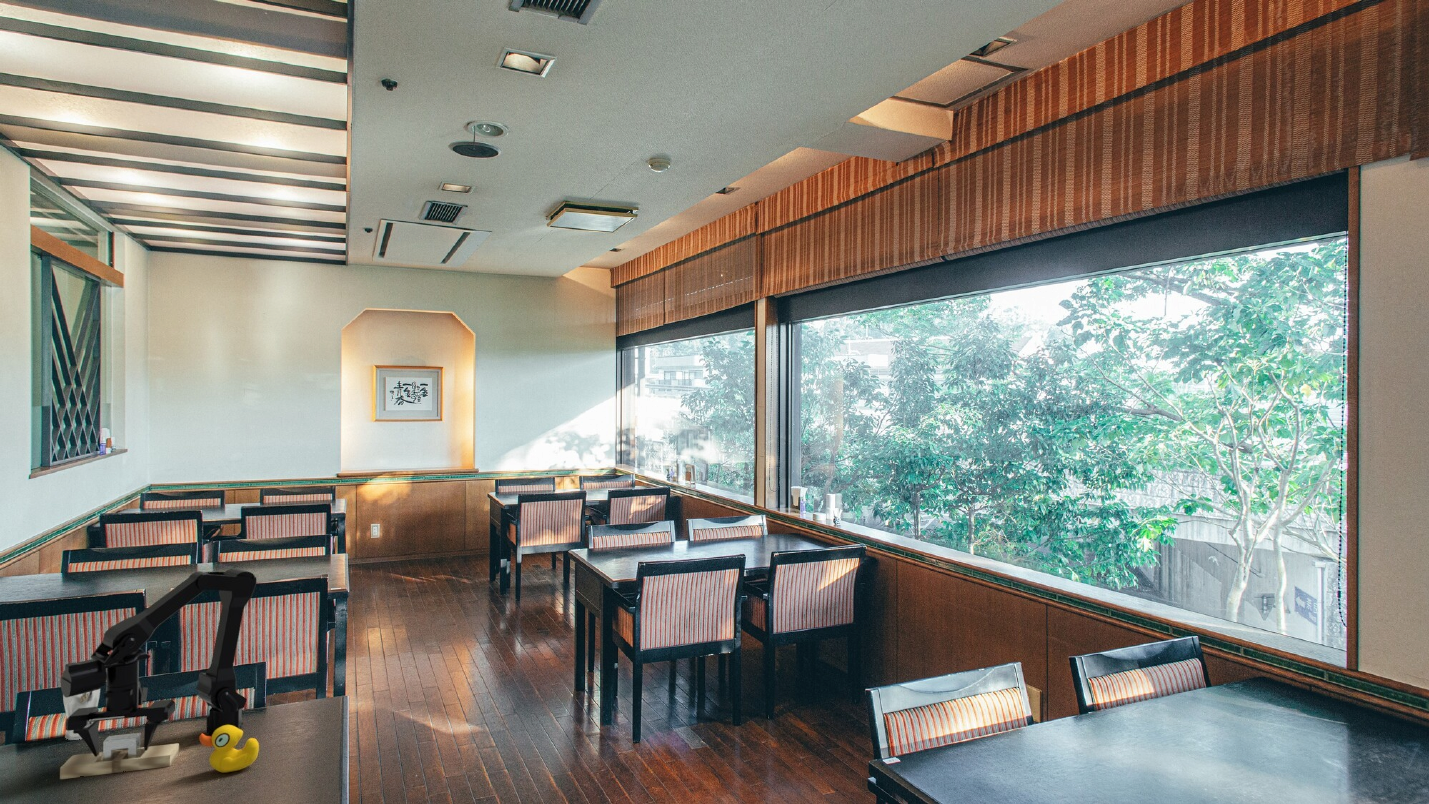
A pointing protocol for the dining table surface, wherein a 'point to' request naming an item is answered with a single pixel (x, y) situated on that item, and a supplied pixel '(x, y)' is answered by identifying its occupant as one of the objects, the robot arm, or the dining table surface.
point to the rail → (119, 761)
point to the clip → (122, 745)
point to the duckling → (230, 749)
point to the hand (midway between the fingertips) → (121, 752)
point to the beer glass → (79, 702)
